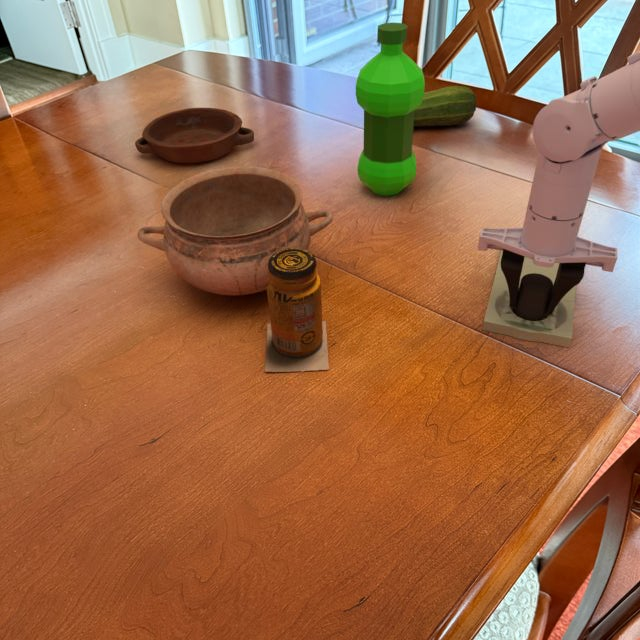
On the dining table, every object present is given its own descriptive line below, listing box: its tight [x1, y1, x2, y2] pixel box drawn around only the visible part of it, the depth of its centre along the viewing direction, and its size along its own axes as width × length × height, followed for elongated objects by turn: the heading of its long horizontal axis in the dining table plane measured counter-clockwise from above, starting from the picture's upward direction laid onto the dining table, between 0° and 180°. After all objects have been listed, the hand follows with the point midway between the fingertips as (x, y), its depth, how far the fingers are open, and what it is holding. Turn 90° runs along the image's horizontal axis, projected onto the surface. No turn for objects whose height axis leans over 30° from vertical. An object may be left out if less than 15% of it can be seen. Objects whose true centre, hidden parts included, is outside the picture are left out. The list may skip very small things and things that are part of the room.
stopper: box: [513, 273, 553, 321], centre depth 72 cm, size 4×4×5 cm
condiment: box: [264, 248, 330, 373], centre depth 67 cm, size 7×8×12 cm
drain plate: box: [481, 250, 577, 348], centre depth 77 cm, size 20×10×2 cm, turn 160°
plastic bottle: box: [355, 22, 426, 197], centre depth 92 cm, size 10×10×25 cm
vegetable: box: [413, 85, 478, 128], centre depth 116 cm, size 7×7×20 cm
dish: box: [134, 107, 255, 164], centre depth 112 cm, size 18×22×5 cm
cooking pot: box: [137, 166, 334, 296], centre depth 78 cm, size 25×19×12 cm
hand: (531, 305), depth 72 cm, fingers closed on stopper, 4 cm apart
